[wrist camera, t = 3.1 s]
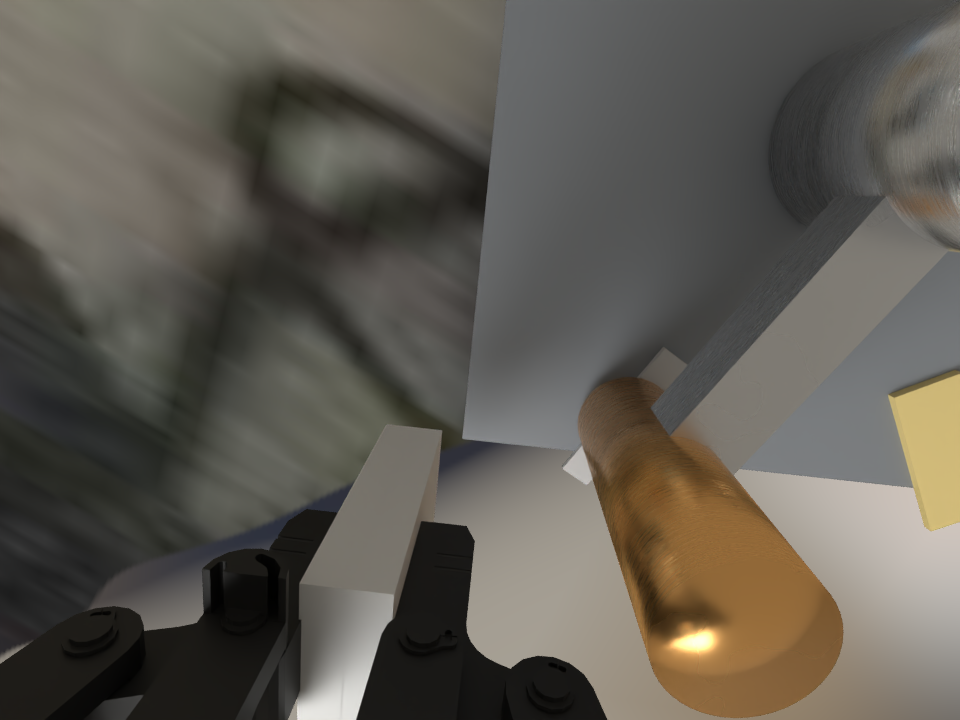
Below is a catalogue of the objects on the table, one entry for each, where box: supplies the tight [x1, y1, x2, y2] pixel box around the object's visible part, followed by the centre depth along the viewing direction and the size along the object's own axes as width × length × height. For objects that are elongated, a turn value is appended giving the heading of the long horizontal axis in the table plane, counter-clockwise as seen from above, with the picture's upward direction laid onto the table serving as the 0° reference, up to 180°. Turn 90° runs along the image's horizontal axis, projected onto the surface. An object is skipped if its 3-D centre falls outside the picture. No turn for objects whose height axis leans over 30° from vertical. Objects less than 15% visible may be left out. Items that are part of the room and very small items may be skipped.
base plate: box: [462, 0, 960, 531], centre depth 17 cm, size 20×21×2 cm
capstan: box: [577, 0, 960, 718], centre depth 12 cm, size 14×5×9 cm, turn 144°
